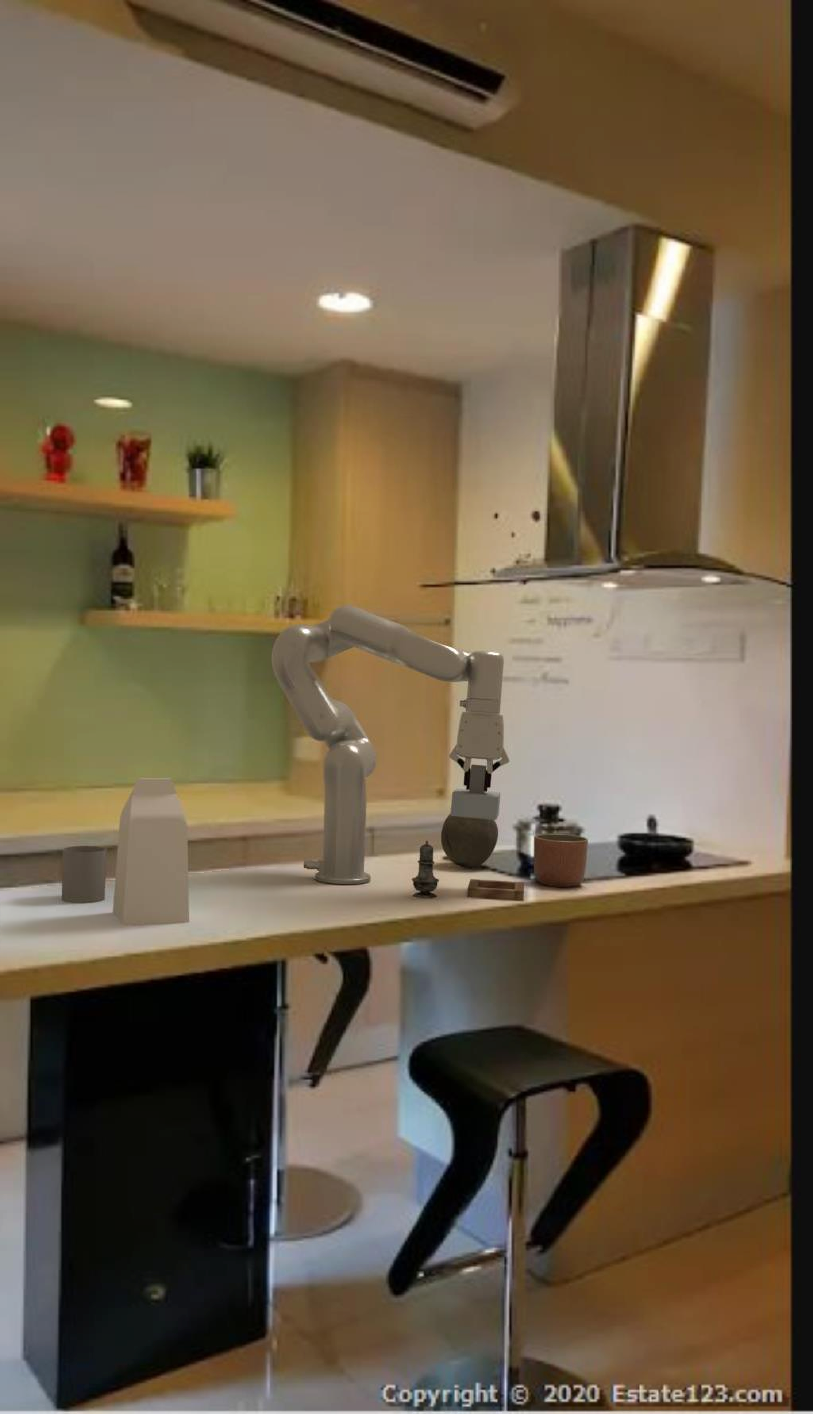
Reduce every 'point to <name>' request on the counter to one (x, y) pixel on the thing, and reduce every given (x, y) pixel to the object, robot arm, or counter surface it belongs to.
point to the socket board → (495, 889)
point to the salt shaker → (425, 874)
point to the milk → (152, 857)
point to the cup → (83, 874)
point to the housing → (475, 798)
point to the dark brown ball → (468, 840)
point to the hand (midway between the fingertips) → (476, 789)
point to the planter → (560, 859)
